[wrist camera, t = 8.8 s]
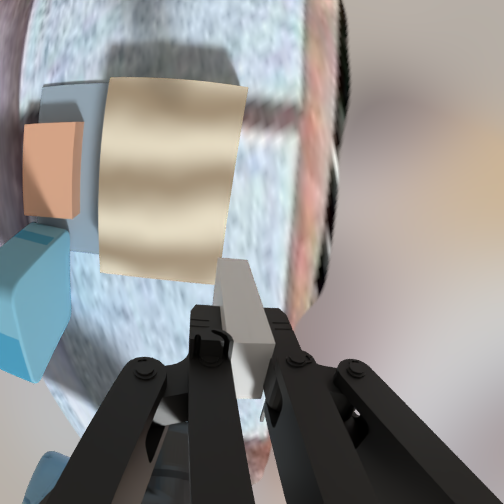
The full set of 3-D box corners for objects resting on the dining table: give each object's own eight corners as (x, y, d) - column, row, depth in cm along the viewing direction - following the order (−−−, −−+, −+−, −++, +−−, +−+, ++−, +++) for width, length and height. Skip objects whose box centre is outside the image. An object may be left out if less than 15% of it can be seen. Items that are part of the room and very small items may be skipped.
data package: (36, 216, 25) (-30, 272, 14) (71, 224, 26) (10, 287, 16) (42, 307, 30) (1, 375, 19) (72, 316, 31) (36, 390, 20)
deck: (216, 265, 31) (217, 285, 27) (112, 254, 29) (100, 272, 25) (243, 92, 24) (248, 87, 20) (123, 83, 22) (110, 77, 18)
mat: (112, 254, 29) (111, 255, 28) (41, 246, 27) (40, 247, 27) (123, 83, 22) (122, 82, 22) (44, 87, 20) (42, 87, 20)
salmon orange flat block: (24, 215, 23) (33, 209, 25) (72, 219, 24) (80, 213, 26) (24, 124, 20) (35, 123, 21) (75, 122, 21) (84, 121, 23)
